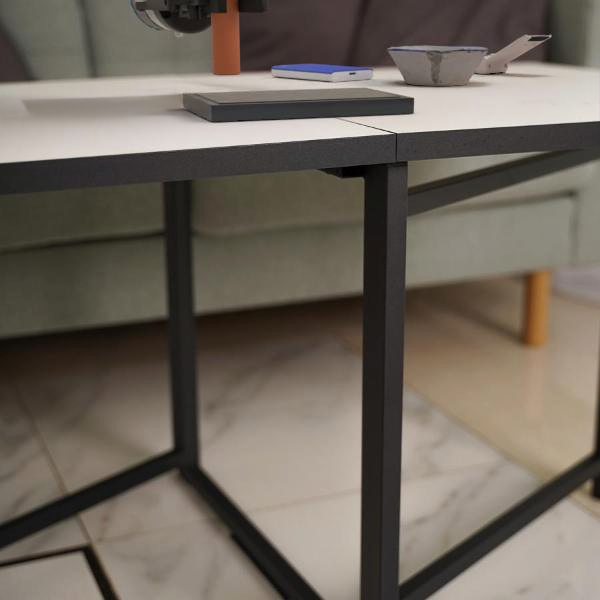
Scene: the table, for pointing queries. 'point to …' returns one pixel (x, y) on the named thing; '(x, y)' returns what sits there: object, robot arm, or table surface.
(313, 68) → the hard drive
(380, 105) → the tablet
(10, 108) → the table surface
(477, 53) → the bowl
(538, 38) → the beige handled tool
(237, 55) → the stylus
